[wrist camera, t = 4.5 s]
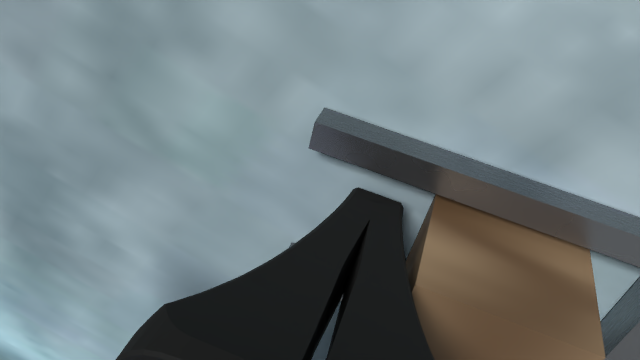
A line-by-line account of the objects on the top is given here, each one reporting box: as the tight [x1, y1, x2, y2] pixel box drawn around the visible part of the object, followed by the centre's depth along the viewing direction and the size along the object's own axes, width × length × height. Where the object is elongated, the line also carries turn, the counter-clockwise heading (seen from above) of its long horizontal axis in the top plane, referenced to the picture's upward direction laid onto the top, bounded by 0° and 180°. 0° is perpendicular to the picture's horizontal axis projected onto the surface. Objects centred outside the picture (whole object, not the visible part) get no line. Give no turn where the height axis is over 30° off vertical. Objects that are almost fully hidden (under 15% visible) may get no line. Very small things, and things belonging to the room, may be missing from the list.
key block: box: [406, 194, 605, 360], centre depth 13 cm, size 4×3×4 cm
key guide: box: [289, 108, 640, 360], centre depth 14 cm, size 10×6×1 cm, turn 78°
